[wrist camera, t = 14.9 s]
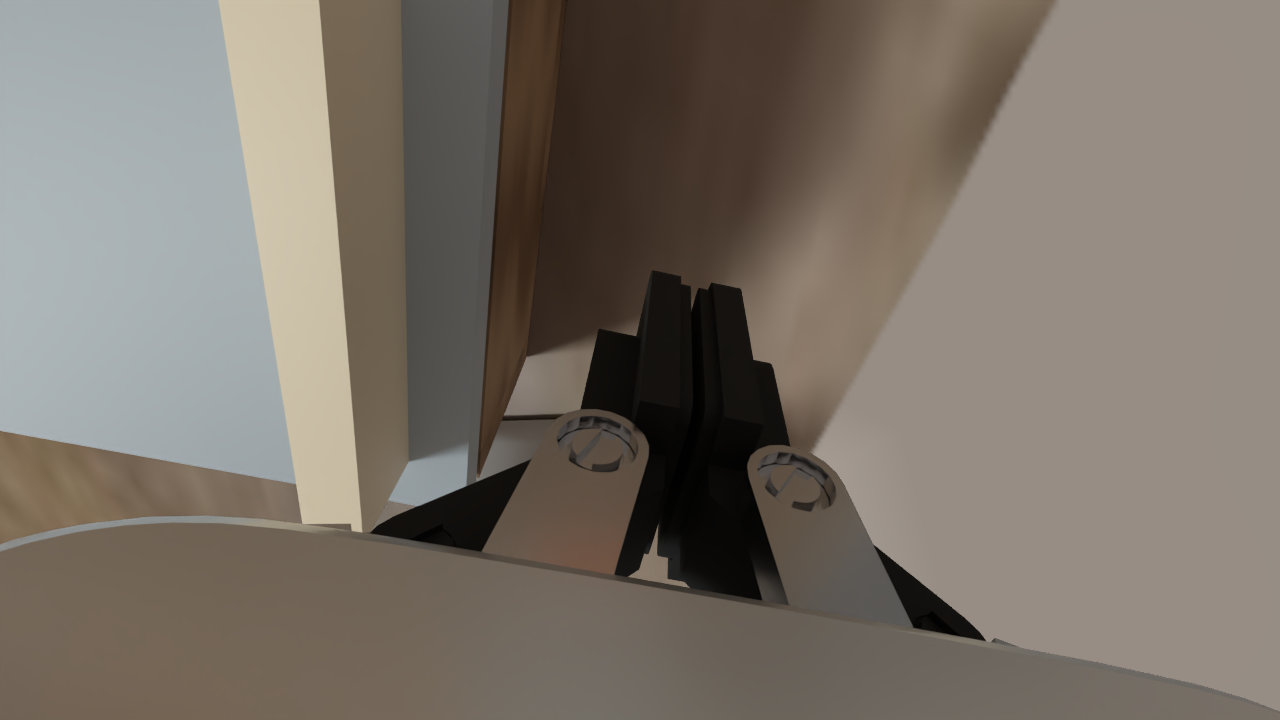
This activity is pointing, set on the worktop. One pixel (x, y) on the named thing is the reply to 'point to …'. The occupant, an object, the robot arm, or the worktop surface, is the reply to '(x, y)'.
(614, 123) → the worktop surface
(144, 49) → the lid
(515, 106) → the wooden box
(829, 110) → the worktop surface
